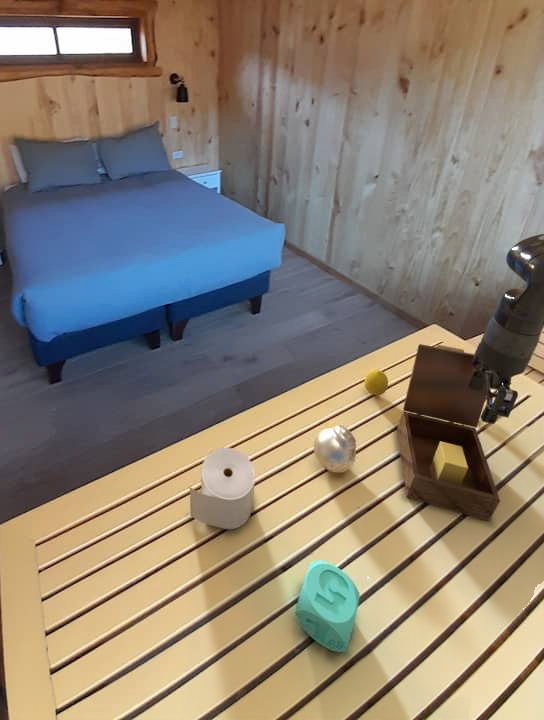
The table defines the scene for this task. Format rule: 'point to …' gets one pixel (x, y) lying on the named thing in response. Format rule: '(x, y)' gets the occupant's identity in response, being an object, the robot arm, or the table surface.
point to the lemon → (376, 382)
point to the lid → (444, 386)
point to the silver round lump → (335, 449)
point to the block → (449, 464)
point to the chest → (416, 457)
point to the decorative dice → (328, 605)
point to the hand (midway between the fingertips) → (480, 404)
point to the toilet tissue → (224, 490)
